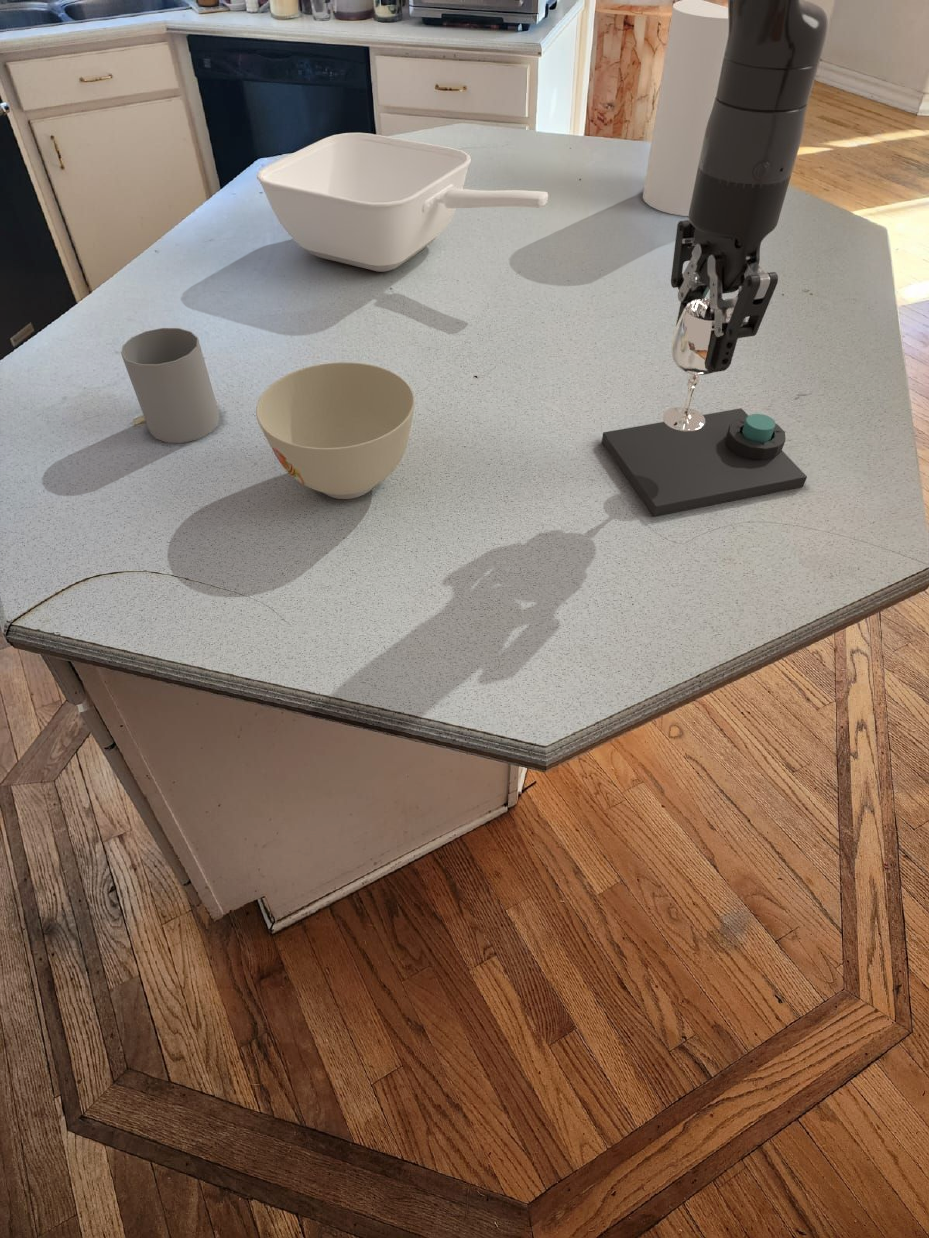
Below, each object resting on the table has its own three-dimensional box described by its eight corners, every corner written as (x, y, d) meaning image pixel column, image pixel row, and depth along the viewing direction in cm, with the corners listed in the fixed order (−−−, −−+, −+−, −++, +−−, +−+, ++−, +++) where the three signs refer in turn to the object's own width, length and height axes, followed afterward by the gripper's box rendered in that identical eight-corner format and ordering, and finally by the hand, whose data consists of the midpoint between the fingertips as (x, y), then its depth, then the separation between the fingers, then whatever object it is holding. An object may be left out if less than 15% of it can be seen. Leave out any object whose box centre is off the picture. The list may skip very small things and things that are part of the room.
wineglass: (656, 432, 79) (679, 321, 70) (656, 402, 83) (678, 294, 74) (712, 437, 78) (744, 326, 69) (710, 407, 82) (739, 298, 73)
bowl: (267, 452, 88) (248, 374, 80) (401, 430, 91) (395, 352, 83) (284, 541, 77) (264, 461, 70) (435, 513, 80) (431, 433, 73)
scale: (742, 417, 92) (749, 395, 90) (807, 486, 83) (816, 463, 81) (601, 442, 89) (604, 420, 87) (653, 516, 80) (658, 494, 78)
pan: (352, 209, 138) (343, 124, 128) (573, 257, 124) (583, 165, 114) (258, 265, 122) (239, 173, 112) (499, 327, 108) (503, 228, 98)
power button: (761, 425, 87) (765, 411, 85) (776, 440, 84) (781, 427, 83) (736, 429, 86) (740, 416, 85) (751, 445, 84) (755, 431, 83)
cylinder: (678, 223, 133) (717, 23, 112) (624, 191, 143) (651, 2, 123) (757, 207, 138) (808, 12, 117) (699, 177, 148) (737, -6, 127)
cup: (231, 427, 91) (210, 349, 84) (166, 451, 88) (138, 373, 81) (202, 396, 96) (179, 320, 88) (139, 419, 93) (110, 342, 85)
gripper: (837, 189, 58) (772, 385, 71) (741, 134, 68) (699, 316, 80) (750, 199, 57) (700, 397, 70) (665, 142, 66) (634, 326, 79)
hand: (699, 353), depth 75 cm, fingers closed on wineglass, 6 cm apart
